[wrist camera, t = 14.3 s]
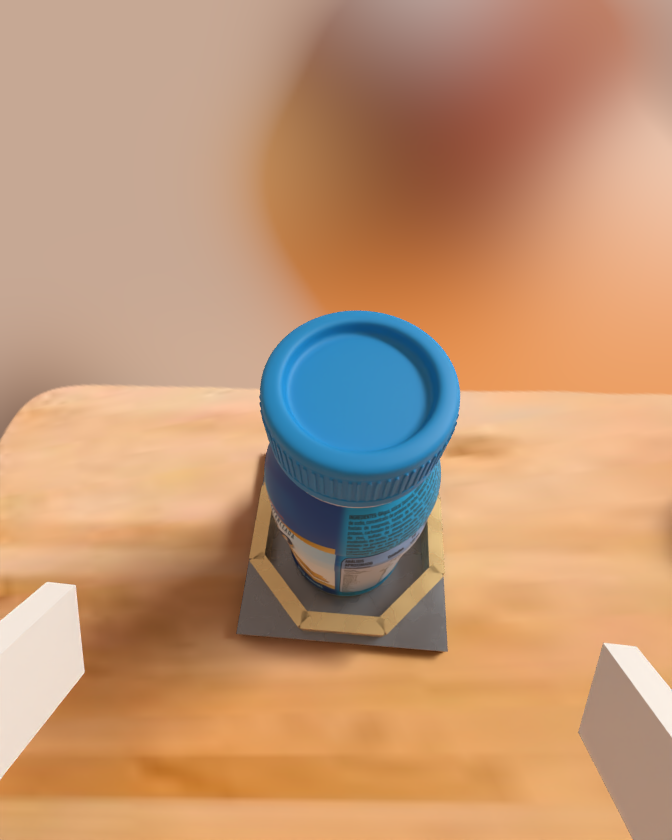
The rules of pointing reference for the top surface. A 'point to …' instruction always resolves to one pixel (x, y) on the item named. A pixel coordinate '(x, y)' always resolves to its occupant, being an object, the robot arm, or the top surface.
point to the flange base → (345, 615)
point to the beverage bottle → (355, 443)
